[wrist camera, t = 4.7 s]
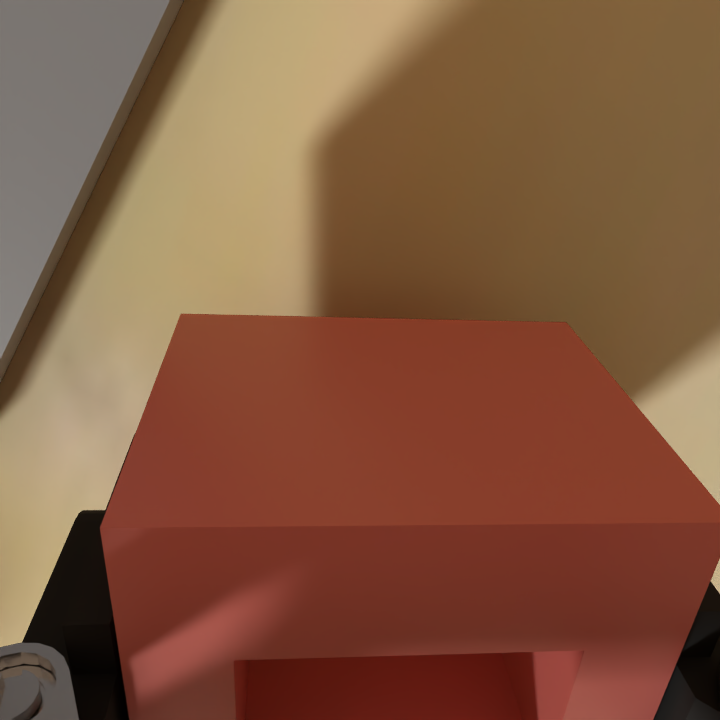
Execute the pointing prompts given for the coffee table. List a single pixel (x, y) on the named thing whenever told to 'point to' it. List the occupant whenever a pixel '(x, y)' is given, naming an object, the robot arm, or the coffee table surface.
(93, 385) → the coffee table surface
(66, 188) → the base
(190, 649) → the red cubby box
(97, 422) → the coffee table surface
